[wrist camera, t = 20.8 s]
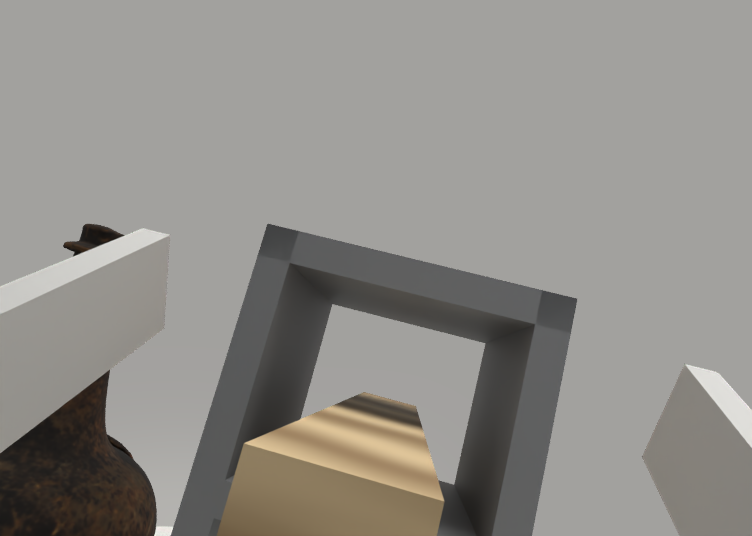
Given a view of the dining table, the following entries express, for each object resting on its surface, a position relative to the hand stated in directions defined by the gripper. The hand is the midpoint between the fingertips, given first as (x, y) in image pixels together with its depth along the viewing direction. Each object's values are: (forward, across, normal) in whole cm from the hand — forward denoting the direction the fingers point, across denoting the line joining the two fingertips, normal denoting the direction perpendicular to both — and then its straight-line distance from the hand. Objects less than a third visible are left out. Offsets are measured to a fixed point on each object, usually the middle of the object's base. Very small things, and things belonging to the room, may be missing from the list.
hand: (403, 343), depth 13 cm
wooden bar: (+7, 0, -12) cm, 14 cm away
